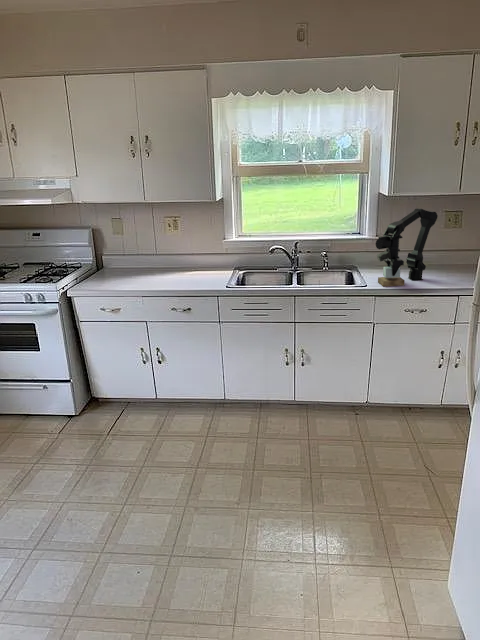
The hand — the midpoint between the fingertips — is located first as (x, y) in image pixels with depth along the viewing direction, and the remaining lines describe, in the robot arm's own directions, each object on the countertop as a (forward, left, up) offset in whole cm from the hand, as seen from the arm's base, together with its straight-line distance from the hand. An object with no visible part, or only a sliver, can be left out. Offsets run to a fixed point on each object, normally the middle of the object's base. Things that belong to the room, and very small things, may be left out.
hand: (391, 274), depth 268 cm
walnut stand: (0, 0, -6) cm, 6 cm away
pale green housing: (0, 0, -1) cm, 1 cm away
